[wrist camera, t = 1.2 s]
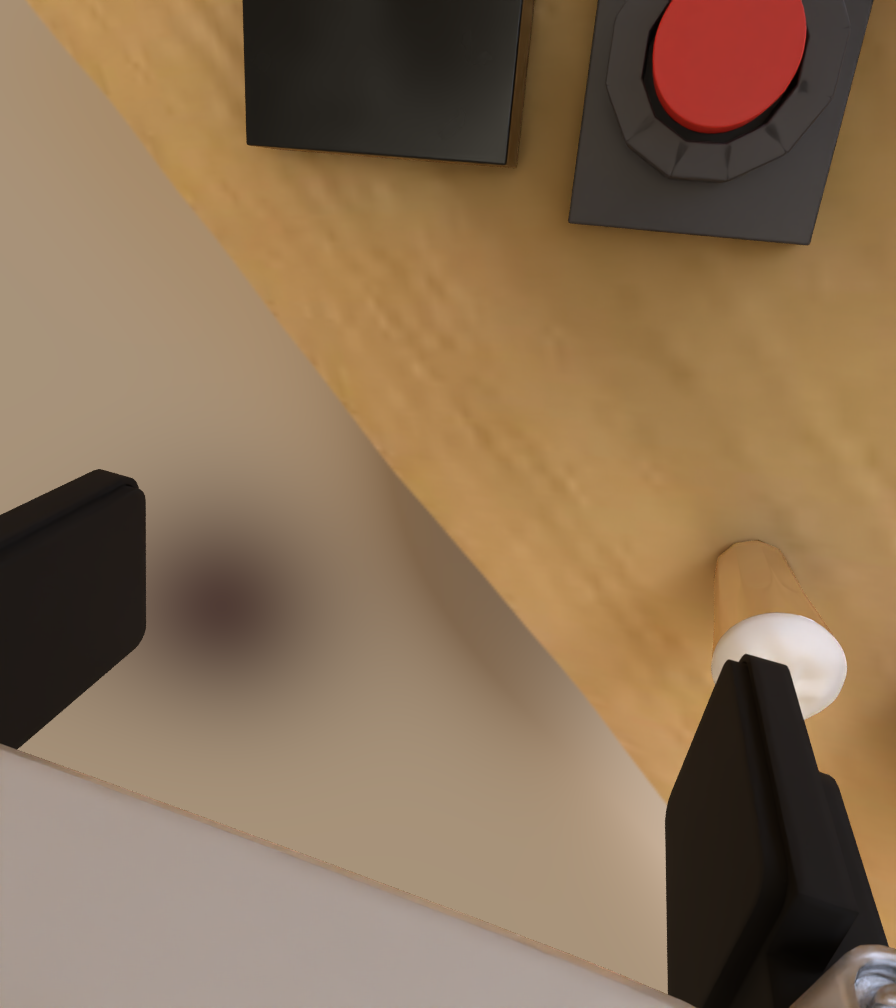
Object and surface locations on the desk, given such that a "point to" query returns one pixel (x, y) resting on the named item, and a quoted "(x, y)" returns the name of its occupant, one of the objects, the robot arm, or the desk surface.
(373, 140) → the black lever switch base
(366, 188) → the desk surface
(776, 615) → the milkshake
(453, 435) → the desk surface
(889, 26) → the desk surface
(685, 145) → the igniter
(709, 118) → the button
